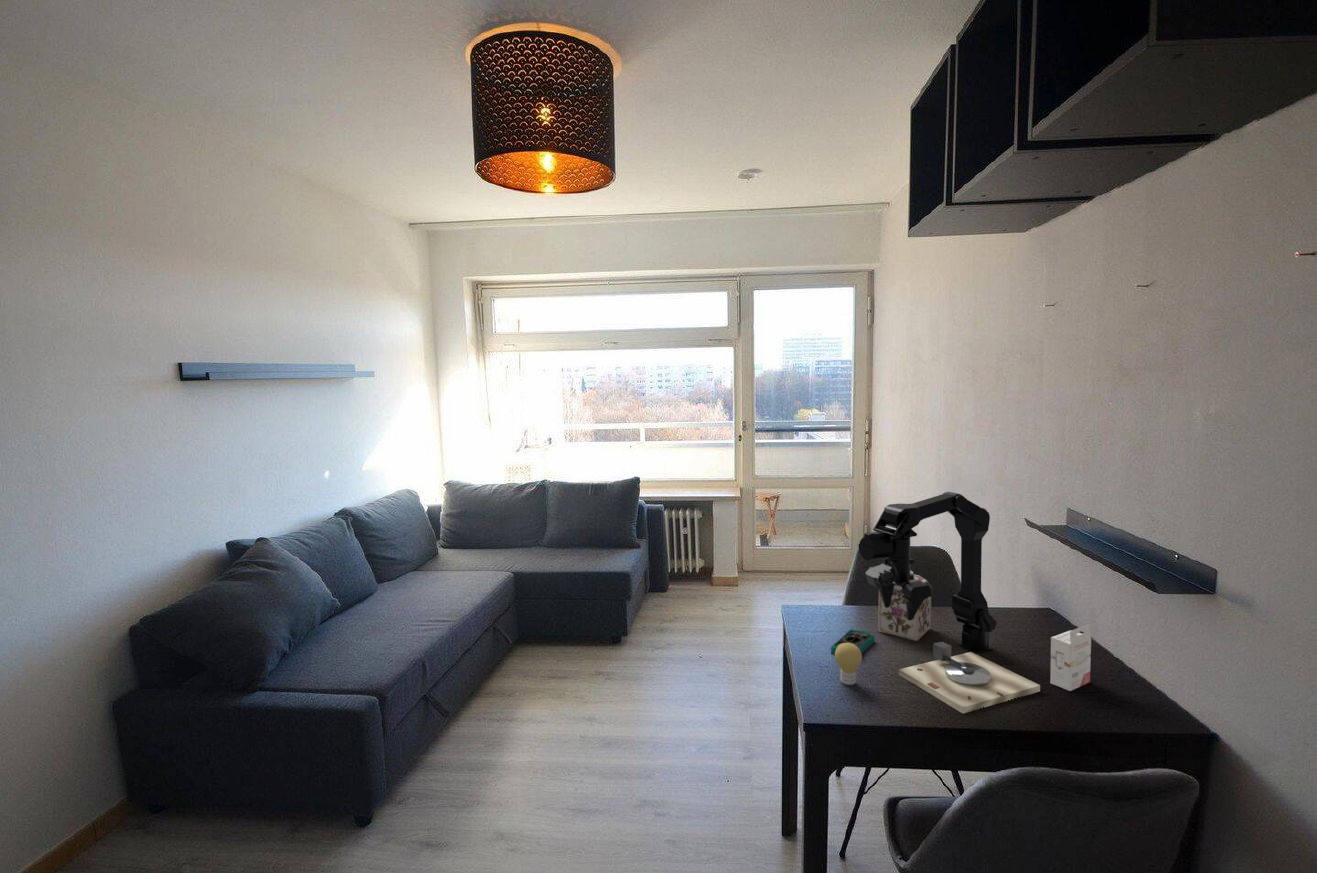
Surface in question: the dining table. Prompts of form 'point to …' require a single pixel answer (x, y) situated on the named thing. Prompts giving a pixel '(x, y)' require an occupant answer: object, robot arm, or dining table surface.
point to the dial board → (966, 696)
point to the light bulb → (848, 661)
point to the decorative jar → (904, 615)
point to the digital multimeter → (855, 640)
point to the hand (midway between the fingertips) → (898, 613)
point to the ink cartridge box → (1071, 658)
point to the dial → (960, 667)
